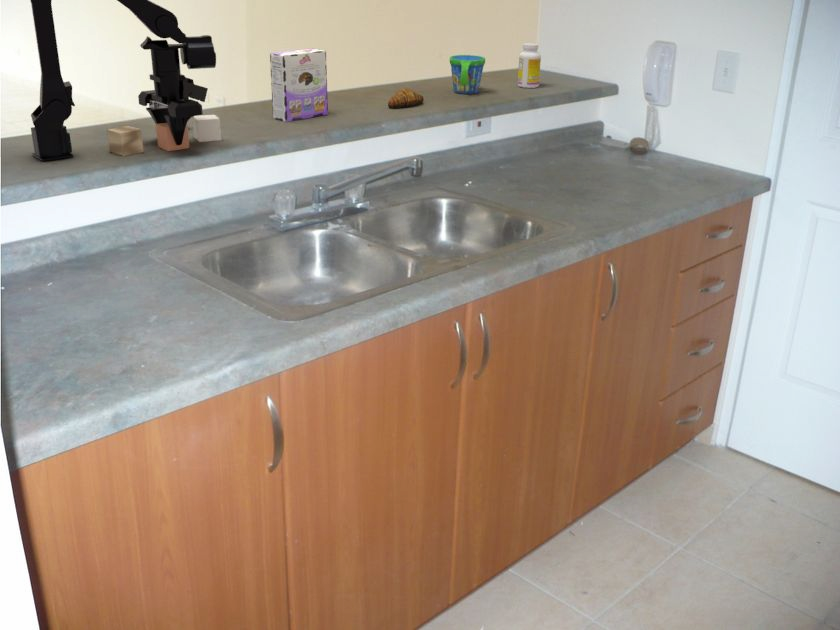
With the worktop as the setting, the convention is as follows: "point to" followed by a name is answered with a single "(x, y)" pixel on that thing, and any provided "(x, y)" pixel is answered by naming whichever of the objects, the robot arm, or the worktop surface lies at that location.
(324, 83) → the cake mix box
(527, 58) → the supplement bottle
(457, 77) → the snack cup
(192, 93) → the robot arm
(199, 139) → the off-white cube
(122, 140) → the oak cube
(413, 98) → the croissant
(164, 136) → the terracotta cube
